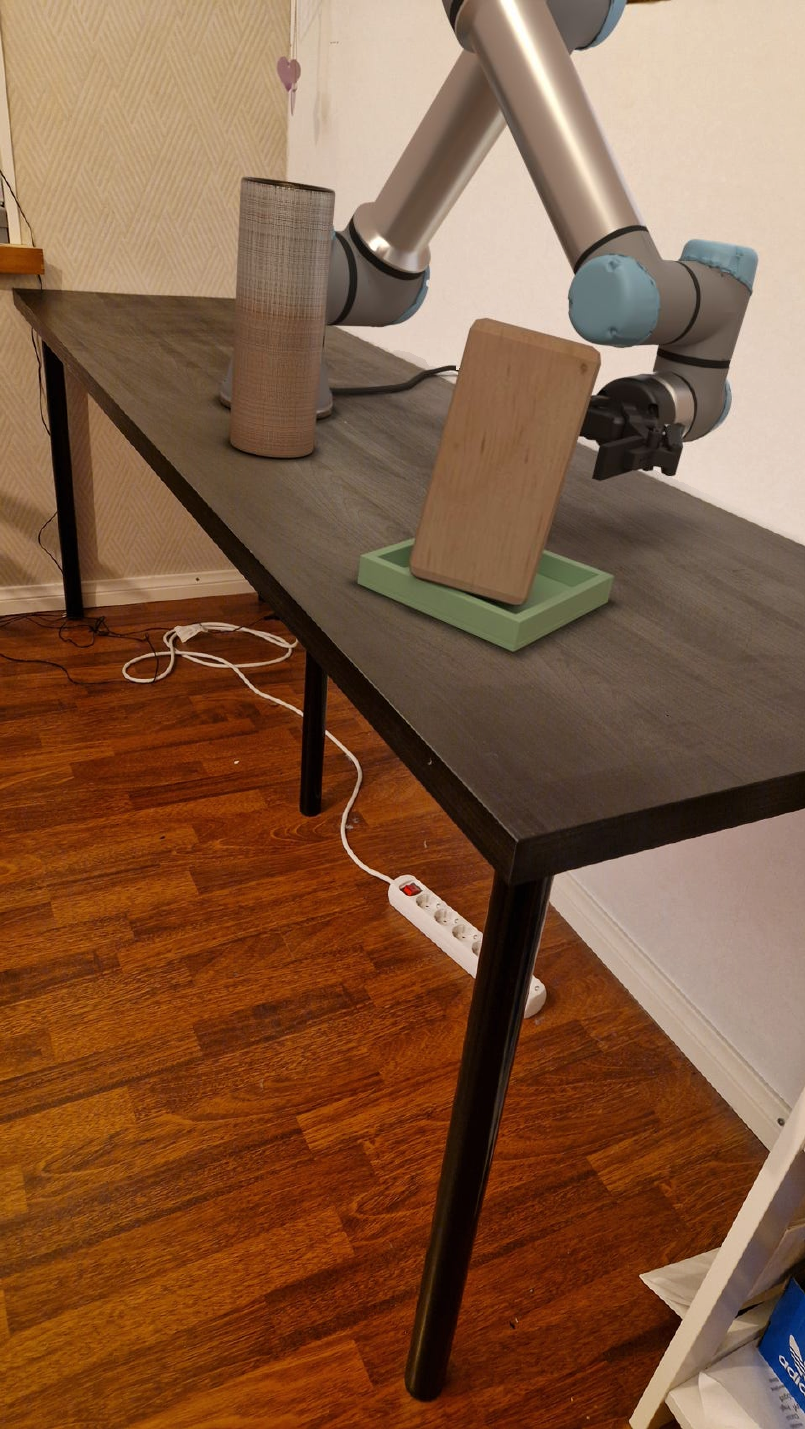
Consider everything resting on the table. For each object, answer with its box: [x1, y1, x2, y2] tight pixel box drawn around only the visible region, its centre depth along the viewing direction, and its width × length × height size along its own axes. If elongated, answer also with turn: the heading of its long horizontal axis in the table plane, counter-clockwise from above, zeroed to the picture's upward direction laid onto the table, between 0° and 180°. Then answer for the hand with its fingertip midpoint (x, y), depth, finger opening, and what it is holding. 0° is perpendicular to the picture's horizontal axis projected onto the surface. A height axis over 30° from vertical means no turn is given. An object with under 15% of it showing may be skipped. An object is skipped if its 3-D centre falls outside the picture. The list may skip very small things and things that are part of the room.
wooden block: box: [409, 317, 602, 606], centre depth 77 cm, size 10×10×20 cm
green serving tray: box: [356, 537, 615, 653], centre depth 84 cm, size 16×16×3 cm
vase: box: [229, 176, 336, 460], centre depth 108 cm, size 10×10×28 cm
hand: (527, 440), depth 80 cm, fingers open, 13 cm apart
